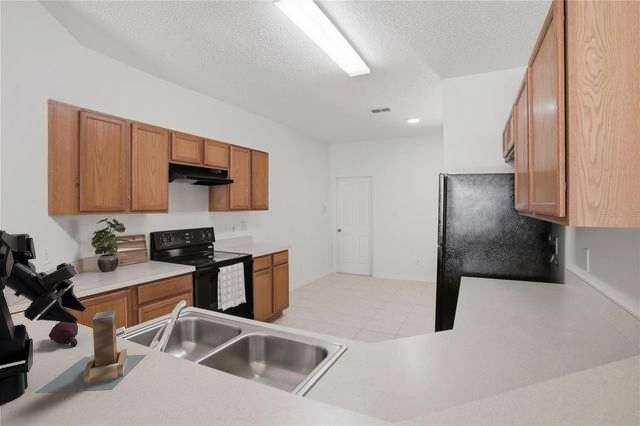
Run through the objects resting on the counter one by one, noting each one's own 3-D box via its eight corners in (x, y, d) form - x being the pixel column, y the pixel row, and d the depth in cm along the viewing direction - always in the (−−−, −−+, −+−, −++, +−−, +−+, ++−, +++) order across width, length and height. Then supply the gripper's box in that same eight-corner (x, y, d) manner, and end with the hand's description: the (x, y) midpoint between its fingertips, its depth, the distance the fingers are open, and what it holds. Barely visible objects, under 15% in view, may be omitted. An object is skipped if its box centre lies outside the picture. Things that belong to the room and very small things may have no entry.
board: (112, 393, 71) (112, 389, 71) (34, 397, 71) (34, 392, 70) (147, 358, 87) (147, 354, 87) (84, 360, 86) (84, 356, 86)
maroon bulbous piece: (38, 321, 99) (54, 337, 90) (66, 309, 104) (83, 322, 96) (46, 339, 101) (62, 356, 92) (73, 326, 106) (90, 341, 98)
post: (95, 378, 76) (92, 319, 75) (99, 368, 80) (96, 313, 80) (114, 374, 78) (112, 316, 77) (117, 364, 82) (115, 310, 81)
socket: (83, 384, 73) (83, 372, 73) (91, 366, 81) (90, 355, 81) (123, 375, 77) (122, 364, 77) (127, 359, 85) (126, 348, 85)
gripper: (39, 261, 72) (99, 301, 77) (62, 250, 89) (110, 283, 94) (-6, 301, 69) (60, 339, 74) (27, 281, 85) (79, 313, 91)
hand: (80, 315), depth 83 cm, fingers open, 9 cm apart
